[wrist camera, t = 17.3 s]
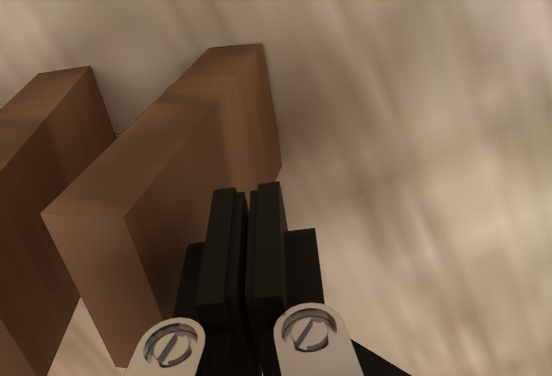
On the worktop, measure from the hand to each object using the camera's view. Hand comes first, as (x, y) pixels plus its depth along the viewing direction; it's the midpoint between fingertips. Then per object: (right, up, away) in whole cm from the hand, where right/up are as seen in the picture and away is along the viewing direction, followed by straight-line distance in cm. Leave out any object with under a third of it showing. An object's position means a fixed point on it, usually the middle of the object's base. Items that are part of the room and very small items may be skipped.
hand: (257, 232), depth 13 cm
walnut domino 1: (-7, +3, +7) cm, 11 cm away
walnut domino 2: (-1, +4, +6) cm, 8 cm away
